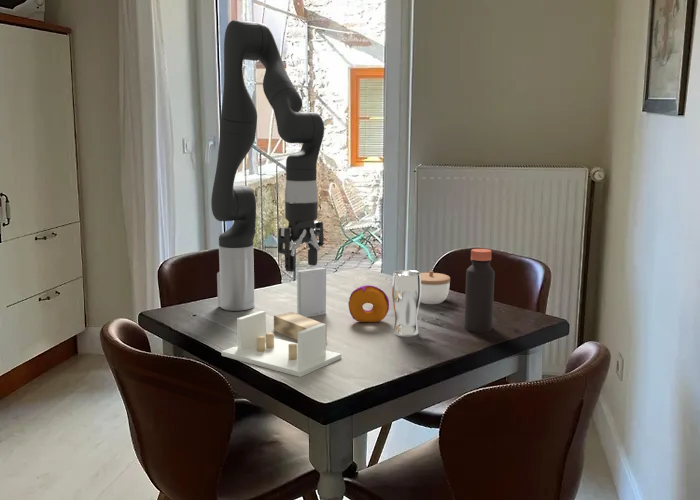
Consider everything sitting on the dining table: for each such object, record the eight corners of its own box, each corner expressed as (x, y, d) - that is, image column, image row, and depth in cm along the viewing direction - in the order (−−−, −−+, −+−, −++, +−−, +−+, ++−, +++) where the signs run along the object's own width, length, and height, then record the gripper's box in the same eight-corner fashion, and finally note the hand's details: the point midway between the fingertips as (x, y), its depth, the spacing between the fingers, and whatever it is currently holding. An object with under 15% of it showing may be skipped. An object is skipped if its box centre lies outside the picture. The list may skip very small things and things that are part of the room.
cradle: (221, 355, 153) (220, 320, 151) (264, 339, 164) (264, 306, 163) (300, 376, 141) (300, 338, 139) (341, 358, 152) (341, 322, 150)
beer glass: (400, 339, 165) (402, 277, 163) (386, 331, 172) (387, 271, 169) (425, 335, 169) (427, 274, 166) (410, 327, 175) (411, 268, 172)
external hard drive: (326, 314, 187) (326, 268, 184) (299, 318, 182) (299, 271, 180) (323, 312, 188) (323, 267, 186) (296, 317, 183) (296, 270, 181)
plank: (273, 331, 172) (273, 315, 171) (292, 327, 176) (292, 311, 175) (307, 345, 161) (307, 328, 161) (326, 341, 165) (326, 324, 164)
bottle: (474, 324, 178) (478, 246, 174) (497, 330, 173) (501, 250, 170) (458, 329, 173) (461, 250, 170) (481, 335, 169) (484, 254, 165)
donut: (360, 317, 184) (360, 279, 182) (392, 322, 180) (392, 284, 178) (345, 324, 177) (345, 285, 176) (377, 330, 173) (378, 290, 171)
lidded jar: (455, 302, 200) (456, 269, 198) (439, 310, 191) (440, 276, 190) (421, 296, 206) (422, 265, 204) (404, 304, 197) (405, 271, 195)
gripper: (307, 196, 171) (307, 261, 174) (268, 201, 159) (269, 271, 162) (332, 198, 167) (332, 265, 170) (294, 203, 155) (295, 275, 158)
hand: (301, 268), depth 166 cm, fingers open, 8 cm apart
